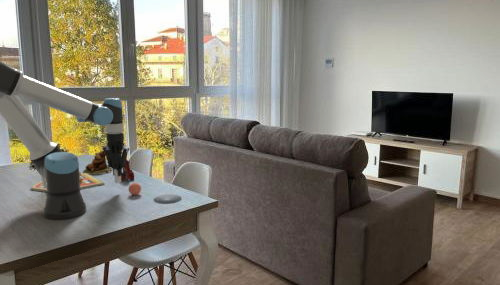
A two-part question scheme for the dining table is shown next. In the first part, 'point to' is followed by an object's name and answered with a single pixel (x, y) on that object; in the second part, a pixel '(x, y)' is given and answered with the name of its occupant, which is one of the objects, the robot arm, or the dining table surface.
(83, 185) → the knob puzzle
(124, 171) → the toy fire truck
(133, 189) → the ball
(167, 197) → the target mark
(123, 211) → the dining table surface
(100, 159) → the bear figurine
